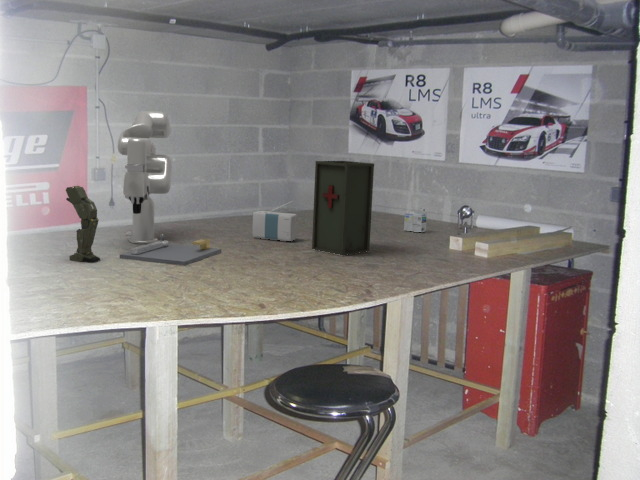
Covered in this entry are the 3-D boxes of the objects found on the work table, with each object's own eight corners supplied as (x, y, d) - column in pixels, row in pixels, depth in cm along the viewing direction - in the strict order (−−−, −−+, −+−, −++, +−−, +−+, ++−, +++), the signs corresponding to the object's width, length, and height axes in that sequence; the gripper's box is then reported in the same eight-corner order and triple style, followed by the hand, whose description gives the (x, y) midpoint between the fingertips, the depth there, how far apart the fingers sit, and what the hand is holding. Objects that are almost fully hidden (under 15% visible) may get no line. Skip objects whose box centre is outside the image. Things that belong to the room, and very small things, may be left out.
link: (160, 244, 294) (160, 233, 293) (170, 245, 292) (170, 234, 292) (128, 253, 271) (128, 241, 271) (139, 254, 270) (139, 242, 269)
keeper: (192, 251, 283) (192, 241, 282) (203, 247, 292) (203, 238, 291) (199, 252, 282) (199, 242, 281) (210, 248, 291) (210, 239, 290)
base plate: (119, 258, 270) (119, 254, 270) (161, 246, 300) (161, 242, 300) (184, 265, 262) (184, 261, 261) (221, 252, 292) (221, 248, 291)
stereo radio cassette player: (251, 238, 330) (252, 197, 327) (259, 236, 337) (260, 196, 334) (290, 243, 322) (292, 201, 319) (297, 240, 330) (299, 199, 327)
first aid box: (369, 251, 308) (374, 163, 302) (342, 256, 295) (347, 163, 288) (338, 245, 320) (342, 160, 314) (311, 249, 307) (315, 161, 300)
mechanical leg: (110, 258, 264) (94, 182, 261) (98, 262, 257) (81, 183, 254) (81, 263, 268) (65, 188, 266) (69, 266, 262) (52, 190, 259)
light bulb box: (426, 232, 375) (427, 213, 373) (421, 233, 369) (422, 214, 368) (408, 230, 381) (409, 211, 379) (403, 231, 375) (404, 212, 373)
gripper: (115, 168, 277) (116, 212, 279) (147, 170, 272) (147, 215, 275) (126, 167, 284) (126, 211, 286) (157, 169, 279) (157, 213, 282)
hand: (137, 213), depth 281 cm, fingers closed
